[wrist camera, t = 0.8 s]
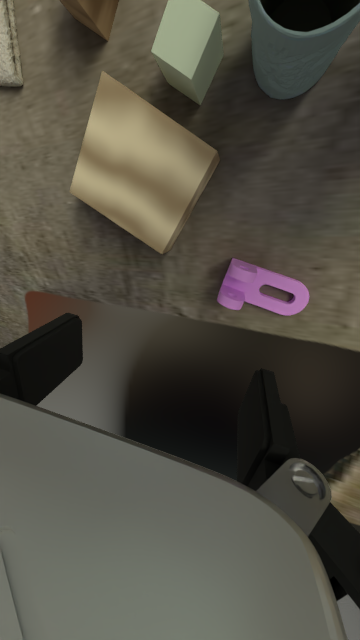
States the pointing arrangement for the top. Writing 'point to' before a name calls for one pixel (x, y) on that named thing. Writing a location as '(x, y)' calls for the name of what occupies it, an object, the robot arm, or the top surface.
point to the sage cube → (189, 46)
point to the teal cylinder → (297, 41)
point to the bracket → (245, 287)
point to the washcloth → (9, 47)
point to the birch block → (140, 166)
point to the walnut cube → (94, 14)
